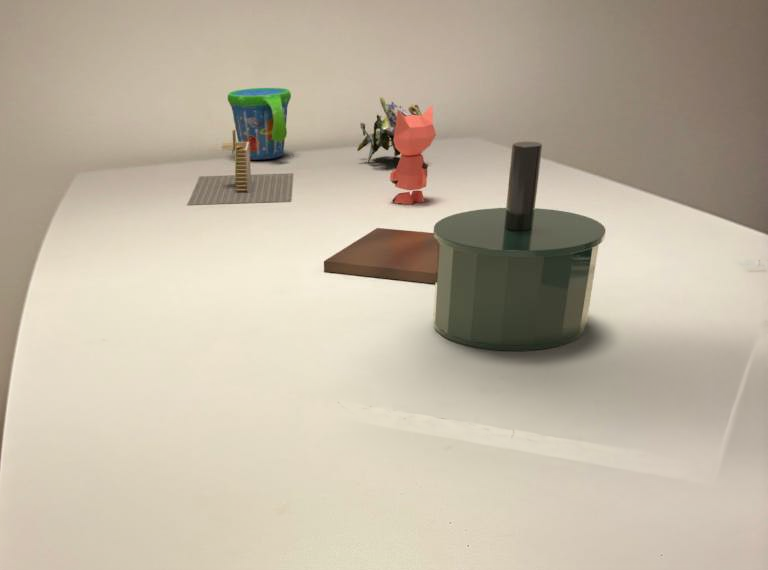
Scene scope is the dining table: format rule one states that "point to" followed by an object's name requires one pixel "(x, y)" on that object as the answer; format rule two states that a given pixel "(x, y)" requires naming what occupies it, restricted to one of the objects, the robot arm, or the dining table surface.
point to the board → (389, 256)
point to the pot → (512, 299)
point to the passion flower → (385, 128)
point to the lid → (520, 220)
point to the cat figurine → (412, 154)
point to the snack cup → (261, 120)
